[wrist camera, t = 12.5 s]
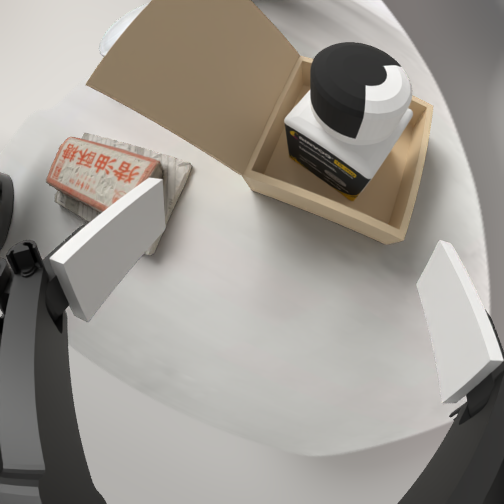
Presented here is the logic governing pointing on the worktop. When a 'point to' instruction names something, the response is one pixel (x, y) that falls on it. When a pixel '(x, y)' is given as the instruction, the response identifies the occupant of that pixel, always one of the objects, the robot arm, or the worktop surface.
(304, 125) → the medicine bottle
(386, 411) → the worktop surface
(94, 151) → the packaged product
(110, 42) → the ramekin
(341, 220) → the mailer
